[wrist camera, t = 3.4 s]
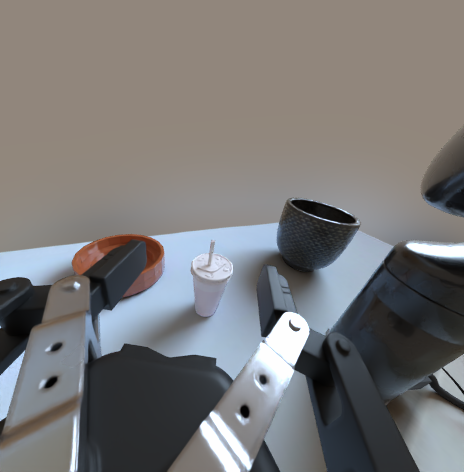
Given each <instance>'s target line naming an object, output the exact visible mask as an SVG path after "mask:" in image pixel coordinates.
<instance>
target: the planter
mask: <svg viewBox="0 0 464 472" xmlns="http://www.w3.org/2000/svg"><path fill="white" fill-rule="evenodd" d="M360 225H361V222H360V220H359V219H358V218H356V217H355V216H354V215H352V214H350V213H348V212H346V211H343V210H342V209H339V208H337V207H334V206H331V205H328V204H325V203H322V202H318V201H314V200H309V199H303V198H290V199H288V200H287V201H286V204H285V206H284V209H283V212H282V215H281V219H280V222H279V226H278V231H277V246H278V249H279V251H280V253H281V254H282V257H283V259H284V261H285V262H286V263H287V264H288V265H289V266H291V267H293V268H295V269H297V270H300V271H305V272H307V271H312V270H314V269H321V268H324V267H327V266H329V265H330V264H332V263H333V262H334V261H335V260H336V259H337V258H338V257H339V256H340V255H341V254H342V252H343V251H344V250H345V249H346V247H347V246H348V244H349V243H350V242H351V240H352V239H353V237H354V235H355V234H356V232H357V231H358V229H359V227H360Z"/></svg>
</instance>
